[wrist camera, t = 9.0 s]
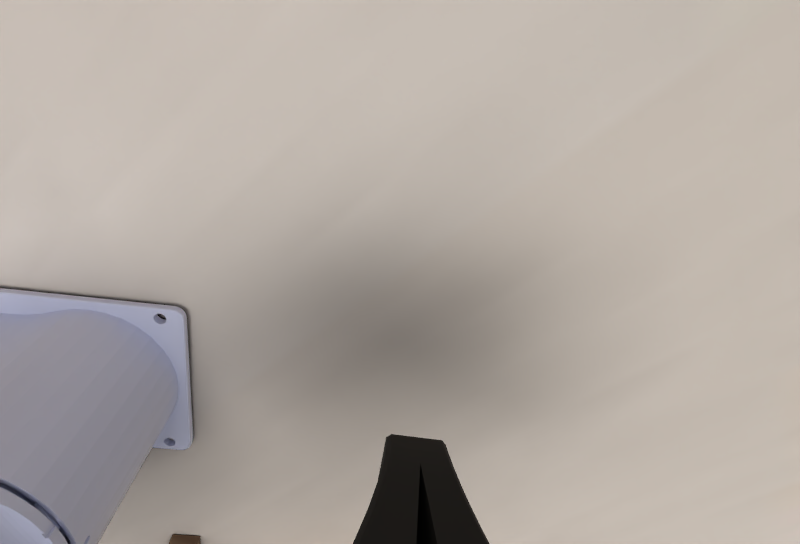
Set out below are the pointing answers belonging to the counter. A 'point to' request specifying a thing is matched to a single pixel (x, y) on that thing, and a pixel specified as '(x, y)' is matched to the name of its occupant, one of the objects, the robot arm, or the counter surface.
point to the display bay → (184, 539)
